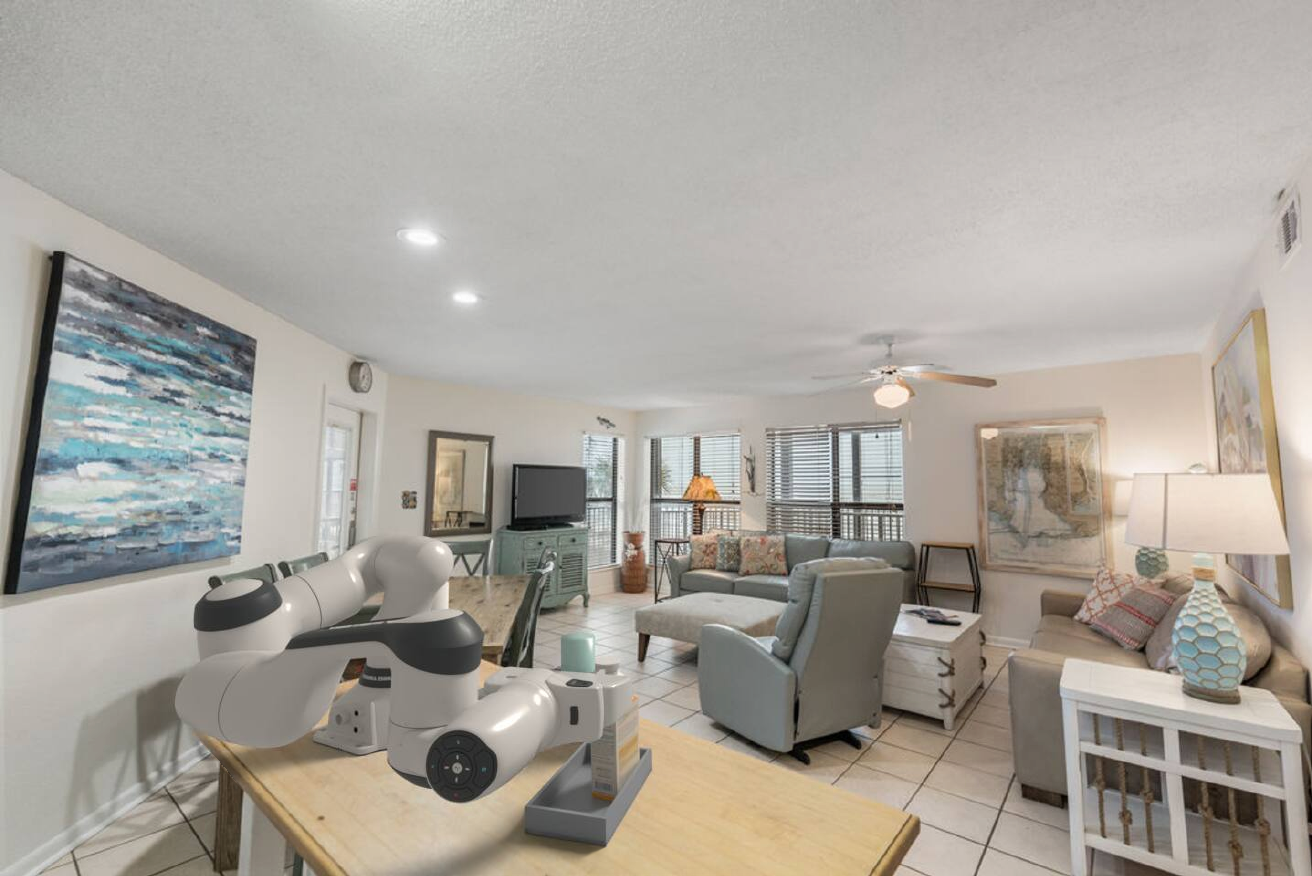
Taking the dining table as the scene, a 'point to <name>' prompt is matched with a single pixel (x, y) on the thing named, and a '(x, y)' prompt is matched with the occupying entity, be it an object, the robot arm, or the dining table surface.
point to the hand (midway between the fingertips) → (580, 672)
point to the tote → (582, 801)
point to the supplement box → (615, 754)
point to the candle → (578, 652)
